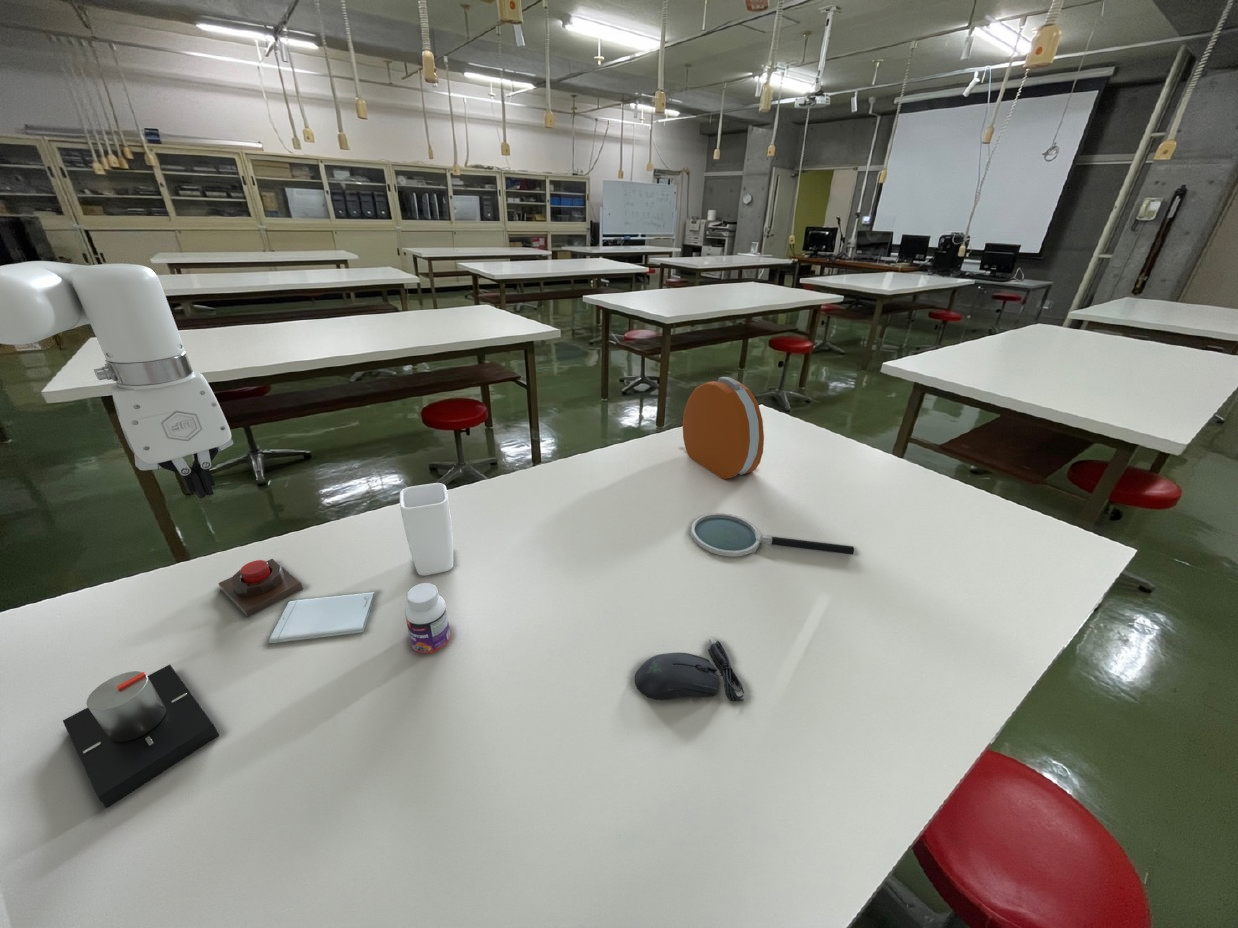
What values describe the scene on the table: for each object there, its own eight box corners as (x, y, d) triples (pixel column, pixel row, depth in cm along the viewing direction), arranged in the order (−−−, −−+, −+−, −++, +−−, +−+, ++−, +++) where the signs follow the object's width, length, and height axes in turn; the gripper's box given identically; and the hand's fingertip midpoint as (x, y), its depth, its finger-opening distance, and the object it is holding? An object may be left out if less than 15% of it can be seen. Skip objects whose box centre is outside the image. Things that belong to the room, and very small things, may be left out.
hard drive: (374, 590, 80) (289, 599, 78) (362, 628, 73) (267, 639, 70) (376, 598, 81) (291, 607, 78) (364, 636, 74) (271, 647, 71)
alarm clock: (764, 477, 122) (781, 389, 112) (733, 486, 118) (749, 396, 107) (707, 443, 139) (717, 363, 129) (678, 449, 135) (687, 368, 124)
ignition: (222, 593, 80) (214, 574, 79) (276, 568, 86) (269, 549, 84) (249, 621, 75) (241, 601, 74) (304, 592, 81) (298, 573, 79)
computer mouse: (626, 657, 72) (627, 637, 70) (721, 645, 75) (725, 626, 73) (641, 720, 63) (643, 700, 62) (748, 704, 66) (753, 685, 64)
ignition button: (239, 577, 79) (235, 568, 78) (264, 565, 81) (261, 557, 81) (249, 586, 77) (245, 577, 76) (274, 574, 80) (271, 565, 79)
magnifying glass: (860, 577, 90) (863, 568, 89) (689, 555, 94) (690, 546, 93) (843, 534, 102) (845, 526, 101) (691, 516, 106) (692, 508, 105)
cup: (459, 575, 86) (448, 502, 80) (414, 584, 84) (399, 510, 77) (454, 550, 92) (445, 481, 86) (412, 558, 90) (399, 487, 83)
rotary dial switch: (74, 736, 59) (61, 719, 57) (178, 679, 66) (169, 663, 65) (110, 813, 52) (96, 796, 50) (222, 740, 59) (213, 723, 58)
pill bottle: (403, 648, 72) (392, 597, 68) (432, 624, 76) (423, 574, 72) (431, 663, 70) (421, 611, 65) (458, 637, 74) (451, 587, 70)
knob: (117, 751, 54) (93, 716, 52) (102, 726, 57) (78, 692, 54) (173, 717, 58) (153, 683, 56) (156, 695, 61) (137, 662, 58)
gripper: (80, 390, 56) (146, 526, 64) (233, 362, 67) (272, 481, 75) (63, 376, 60) (127, 506, 68) (210, 352, 70) (250, 467, 79)
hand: (203, 493), depth 72 cm, fingers closed
